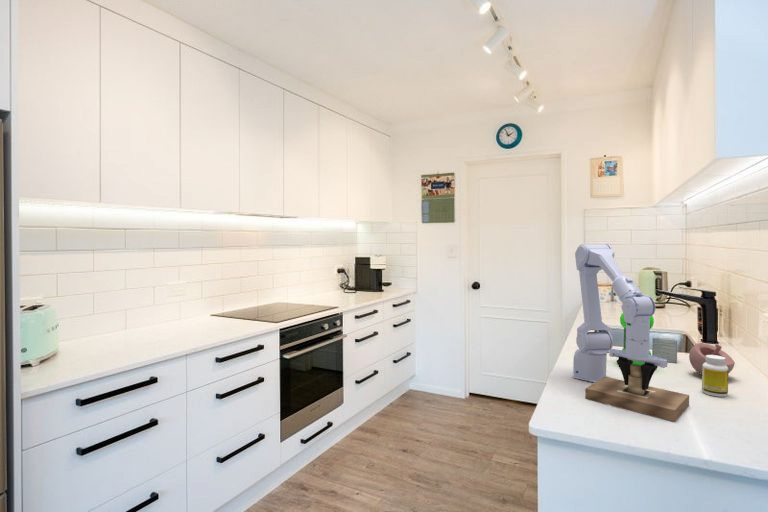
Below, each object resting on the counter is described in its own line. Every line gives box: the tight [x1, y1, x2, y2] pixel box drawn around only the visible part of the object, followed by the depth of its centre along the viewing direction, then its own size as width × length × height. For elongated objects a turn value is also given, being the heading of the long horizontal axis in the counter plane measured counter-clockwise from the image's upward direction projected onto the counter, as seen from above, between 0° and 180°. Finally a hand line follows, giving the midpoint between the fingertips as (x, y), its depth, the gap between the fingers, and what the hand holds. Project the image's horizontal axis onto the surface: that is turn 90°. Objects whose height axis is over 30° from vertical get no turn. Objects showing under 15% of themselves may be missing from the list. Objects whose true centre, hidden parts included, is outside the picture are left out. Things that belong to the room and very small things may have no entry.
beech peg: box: [628, 364, 645, 396], centre depth 123 cm, size 4×4×9 cm
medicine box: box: [651, 335, 678, 364], centre depth 164 cm, size 8×4×9 cm, turn 58°
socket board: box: [584, 376, 690, 422], centre depth 123 cm, size 22×15×3 cm
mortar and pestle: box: [688, 342, 736, 375], centre depth 144 cm, size 12×12×12 cm
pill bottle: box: [701, 355, 729, 398], centre depth 129 cm, size 6×6×11 cm
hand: (636, 386), depth 123 cm, fingers closed on beech peg, 4 cm apart
